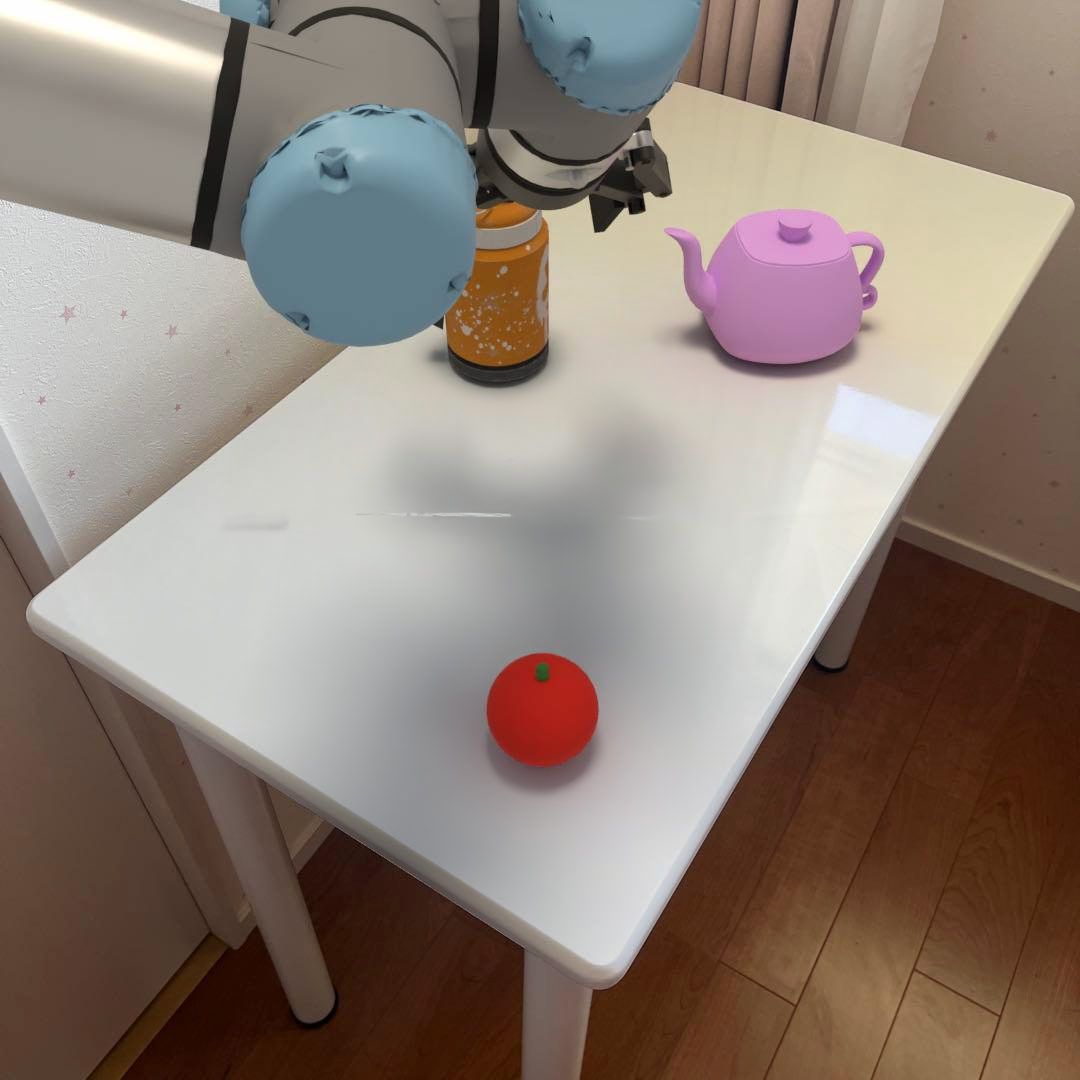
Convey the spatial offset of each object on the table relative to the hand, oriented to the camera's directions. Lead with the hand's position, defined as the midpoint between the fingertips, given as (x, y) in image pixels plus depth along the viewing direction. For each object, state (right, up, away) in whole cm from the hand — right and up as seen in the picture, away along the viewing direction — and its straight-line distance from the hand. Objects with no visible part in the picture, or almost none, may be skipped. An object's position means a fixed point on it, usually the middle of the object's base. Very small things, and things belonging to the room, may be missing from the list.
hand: (504, 226), depth 79 cm
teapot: (+23, -4, +22) cm, 32 cm away
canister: (-2, -6, +20) cm, 21 cm away
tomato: (+3, -35, -8) cm, 36 cm away
